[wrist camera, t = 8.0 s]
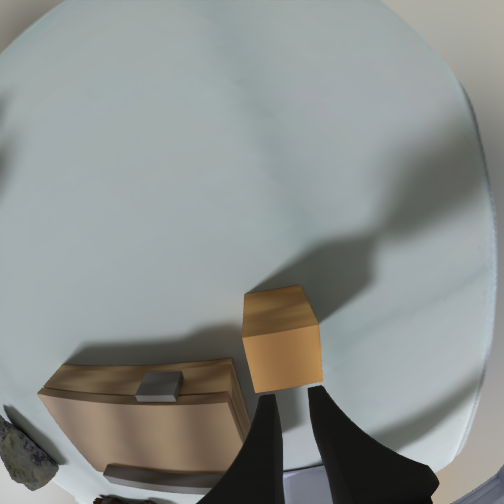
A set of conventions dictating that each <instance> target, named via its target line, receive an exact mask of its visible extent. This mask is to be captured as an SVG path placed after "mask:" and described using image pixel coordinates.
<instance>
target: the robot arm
mask: <svg viewBox="0 0 504 504" xmlns="http://www.w3.org/2000/svg"><path fill="white" fill-rule="evenodd" d="M308 398H309V409H310V419H311V424H312V429H313V433H314V437H315V440H316V443H317V446H318V449H319V452H320V455H321V458H322V461H323V464H324V465H323V466H318V467H313V468H308V469H302V470H296V471H290V472H283V438H282V431H281V423H280V418H279V413H278V408H277V403H276V397H275V394H271V395H264V396H261V397H259V401H258V406H257V410H256V414H255V417H254V420H253V423H252V425H251V428H250V430H249V433H248V435H247V437H246V439H245V441H244V443H243V445H242V447H241V449H240V451H239V453H238V455H237V456H236V458H235V459H234V461H233V463H232V464H231V466H230V467H229V468H228V470H227V471H226V473H225V474H224V475H223V476H222V478H221V479H220V480H219V481H218V482H217V484H216V485H215V486H214V487H213V488H212V489H211V490H210V491H209V492H208V493H207V494H206V495H205V496H204V497H203V498H202V499H201V500H200V501H198V502H197V503H196V504H433V502H432V500H431V496H432V494H433V493H434V492H435V491H436V489H437V488H438V486H439V480H438V478H437V477H436V475H435V474H434V472H433V471H432V470H431V469H430V467H429V466H428V465H425V464H422V463H419V462H416V461H414V460H411V459H409V458H406V457H404V456H402V455H400V454H398V453H396V452H394V451H392V450H391V449H389V448H387V447H385V446H383V445H382V444H380V443H379V442H377V441H376V440H374V439H373V438H372V437H370V436H369V435H368V434H366V433H365V432H364V431H363V430H361V429H360V428H359V427H358V426H357V425H356V424H355V423H354V422H352V421H351V420H350V419H349V418H348V417H347V416H346V414H345V413H344V412H343V411H342V410H341V409H340V408H339V407H338V406H337V405H336V403H335V402H334V401H333V400H332V398H331V397H330V396H329V394H328V393H327V391H326V390H325V388H324V387H323V386H322V385H320V386H315V387H310V388H308ZM451 504H504V465H503V466H502V467H501V468H500V470H499V471H498V472H497V474H495V475H494V476H493V477H491V478H490V479H489V480H487V481H486V482H484V483H483V484H481V485H480V486H478V487H477V488H475V489H474V490H472V491H471V492H469V493H468V494H466V495H465V496H463V497H461V498H460V499H458V500H456V501H454V502H453V503H451Z"/></svg>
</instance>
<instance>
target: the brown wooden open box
mask: <svg viewBox="0 0 504 504" xmlns="http://www.w3.org/2000/svg"><path fill="white" fill-rule="evenodd" d="M171 371H182V373H183V376H184V378H183V382H182V385H181V388H180V391H179V394H178V396H191V395H207V394H219V393H229V396H230V399H231V402H232V405H233V408H234V411H235V414H236V417H237V420H238V423H239V426H240V428H241V431H242V434H243V437H244V440H245V439H246V437H247V435H248V433H249V430H250V428H251V423H250V420H249V417H248V413H247V410H246V407H245V403H244V400H243V396H242V393H241V389H240V386H239V382H238V379H237V375H236V372H235V368H234V365H233V361H232V358H228V359H220V360H211V361H201V362H190V363H177V364H162V365H140V366H78V365H62V366H61V367H60V368H59V369H58V370H57V371H56V372H55V373H54V375H53V376H52V377H51V378H50V379H49V380H48V381H47V383H46V384H45V385H44V386H43V387H44V388H47V389H53V390H60V391H68V392H77V393H86V394H98V395H114V396H135V394H136V392H137V390H138V388H139V386H140V384H141V382H142V380H143V378H144V376H145V374H146V373H149V372H171Z"/></svg>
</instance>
